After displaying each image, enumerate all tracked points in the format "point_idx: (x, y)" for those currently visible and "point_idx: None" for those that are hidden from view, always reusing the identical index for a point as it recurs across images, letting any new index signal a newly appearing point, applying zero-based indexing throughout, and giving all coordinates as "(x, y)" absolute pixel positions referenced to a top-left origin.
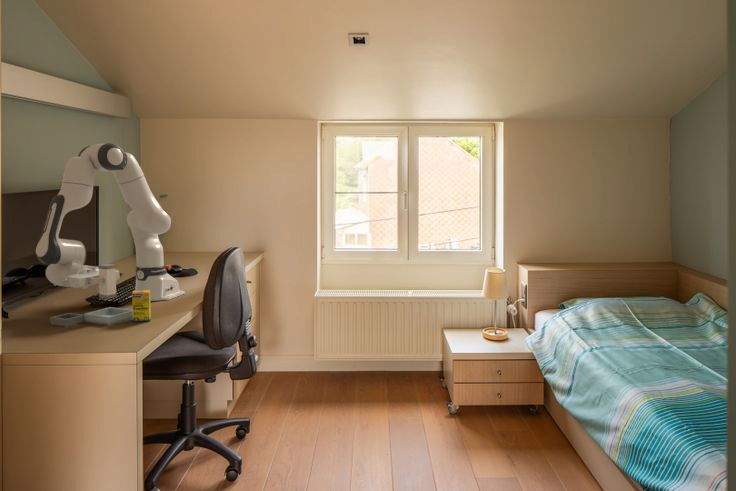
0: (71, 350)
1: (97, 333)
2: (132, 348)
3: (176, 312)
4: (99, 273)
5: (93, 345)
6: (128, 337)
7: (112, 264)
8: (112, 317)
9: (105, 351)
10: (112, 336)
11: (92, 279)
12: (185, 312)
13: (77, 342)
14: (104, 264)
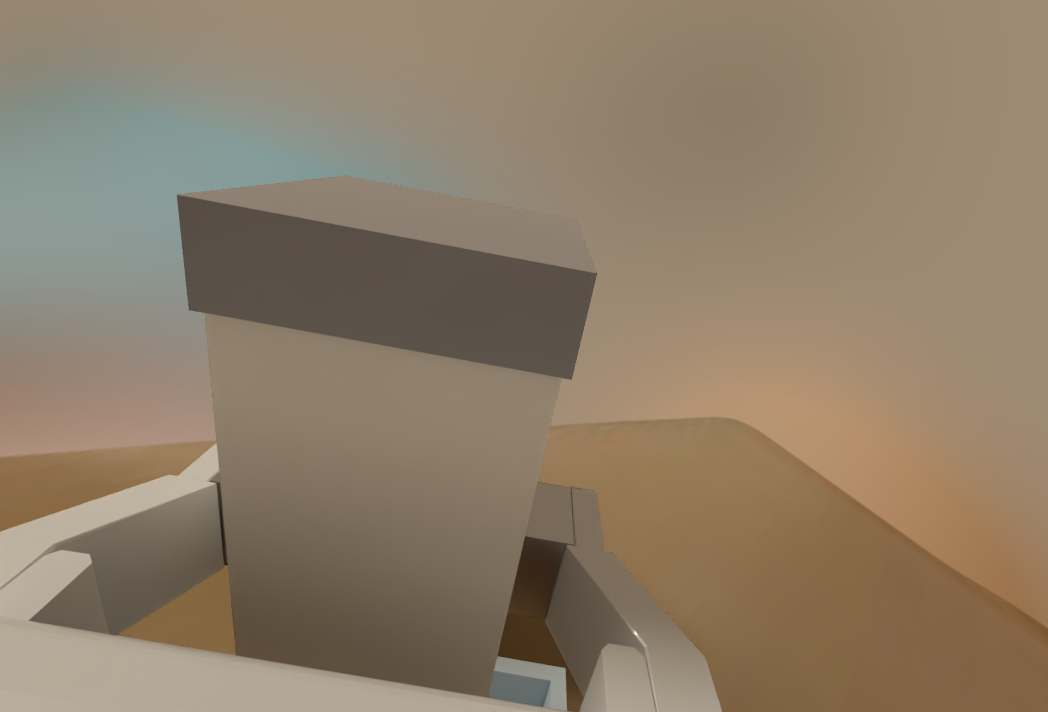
0: (931, 573)
1: (725, 646)
2: (722, 430)
3: (88, 488)
4: (531, 487)
5: (823, 537)
6: (657, 483)
7: (316, 181)
8: (520, 667)
9: (806, 473)
10: (695, 541)
11: (688, 674)
12: (107, 450)
13: (885, 629)
14: (350, 220)
